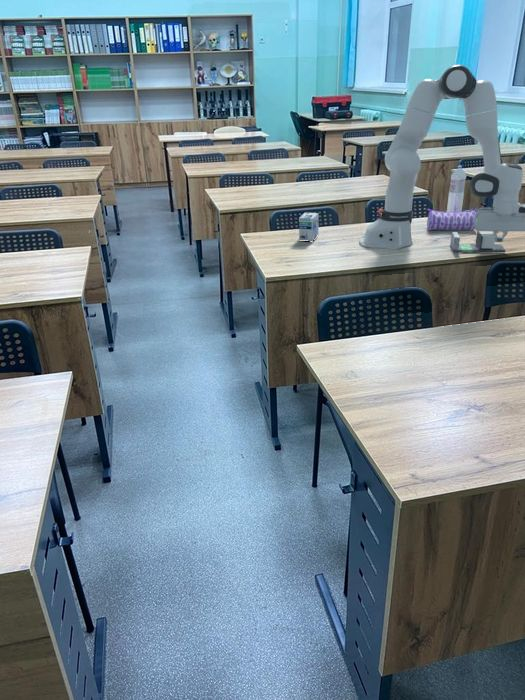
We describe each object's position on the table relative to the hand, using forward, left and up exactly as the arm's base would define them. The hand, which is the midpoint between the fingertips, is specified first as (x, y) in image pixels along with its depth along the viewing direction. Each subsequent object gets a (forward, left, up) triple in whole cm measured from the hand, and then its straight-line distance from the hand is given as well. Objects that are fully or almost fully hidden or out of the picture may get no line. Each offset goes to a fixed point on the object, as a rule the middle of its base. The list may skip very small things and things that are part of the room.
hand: (498, 241), depth 210 cm
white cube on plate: (-5, 0, -2) cm, 5 cm away
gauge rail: (-8, 0, -4) cm, 9 cm away
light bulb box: (-78, +14, -4) cm, 79 cm away
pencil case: (-14, +31, -4) cm, 35 cm away
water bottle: (-10, +51, -4) cm, 52 cm away
